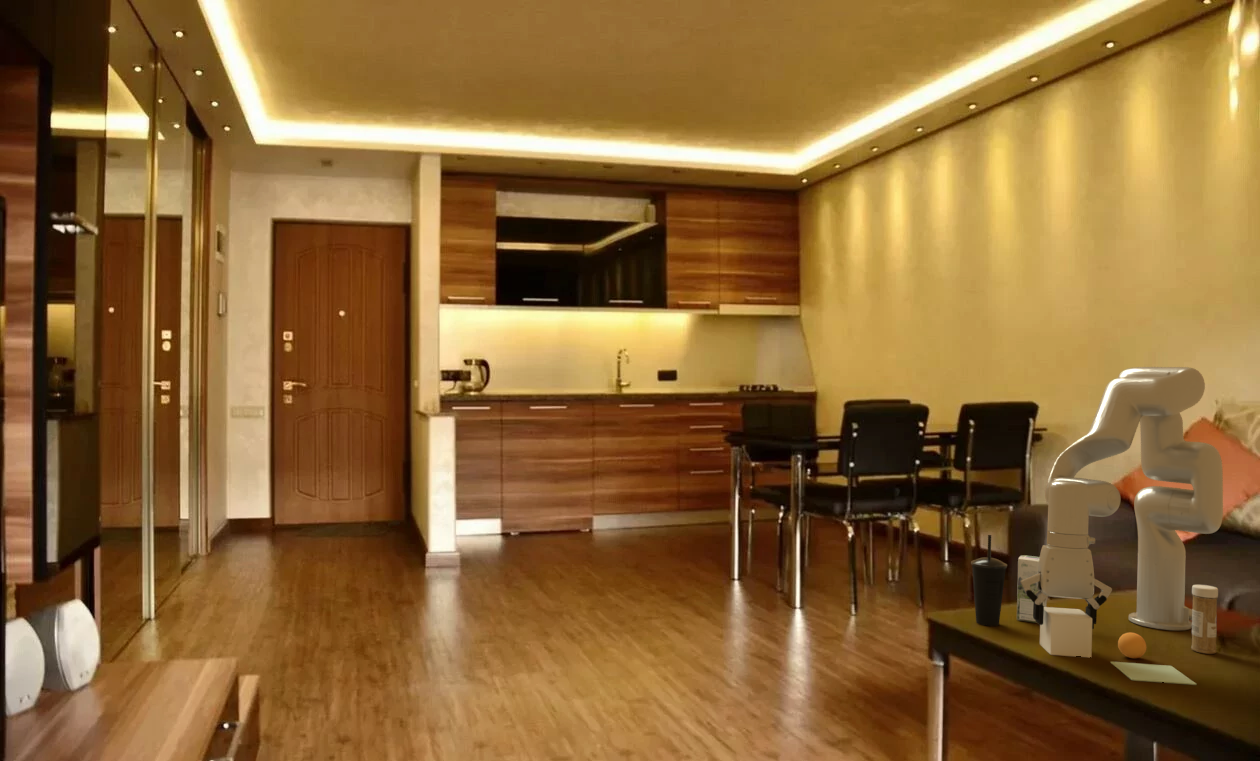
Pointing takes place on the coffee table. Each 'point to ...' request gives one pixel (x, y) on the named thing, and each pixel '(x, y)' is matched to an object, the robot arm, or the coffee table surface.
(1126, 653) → the ball
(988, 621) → the drinking cup
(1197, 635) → the sprinkles bottle
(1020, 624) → the coffee table surface
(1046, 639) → the cream matte cube
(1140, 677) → the mark
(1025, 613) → the syrup box
